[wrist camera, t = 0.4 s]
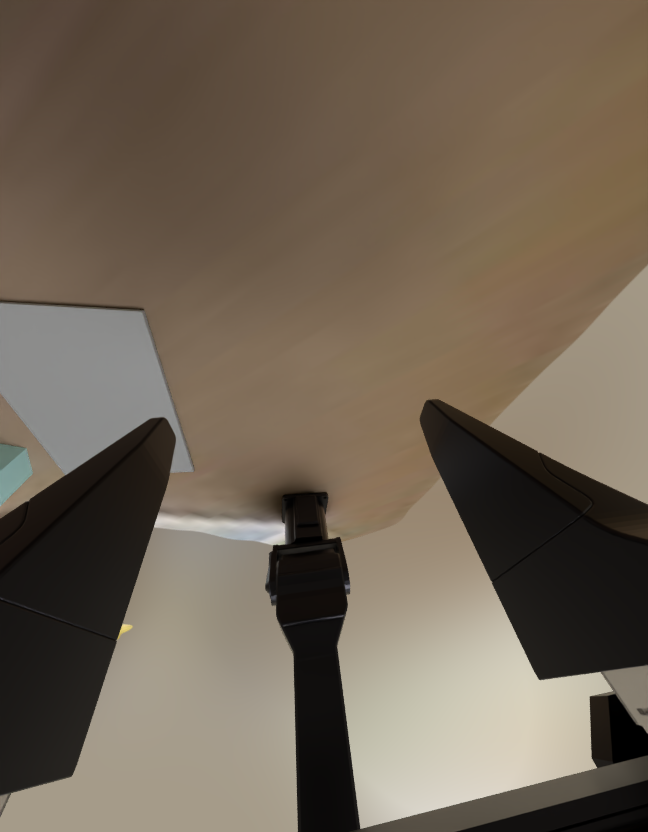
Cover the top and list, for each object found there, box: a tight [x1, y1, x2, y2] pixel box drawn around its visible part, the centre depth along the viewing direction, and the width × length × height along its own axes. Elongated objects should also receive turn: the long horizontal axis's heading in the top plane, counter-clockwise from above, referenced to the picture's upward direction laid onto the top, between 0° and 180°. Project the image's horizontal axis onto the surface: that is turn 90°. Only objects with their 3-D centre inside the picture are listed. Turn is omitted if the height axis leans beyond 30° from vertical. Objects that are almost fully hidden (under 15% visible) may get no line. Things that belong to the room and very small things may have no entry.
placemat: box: [0, 302, 194, 475], centre depth 23 cm, size 18×13×1 cm
